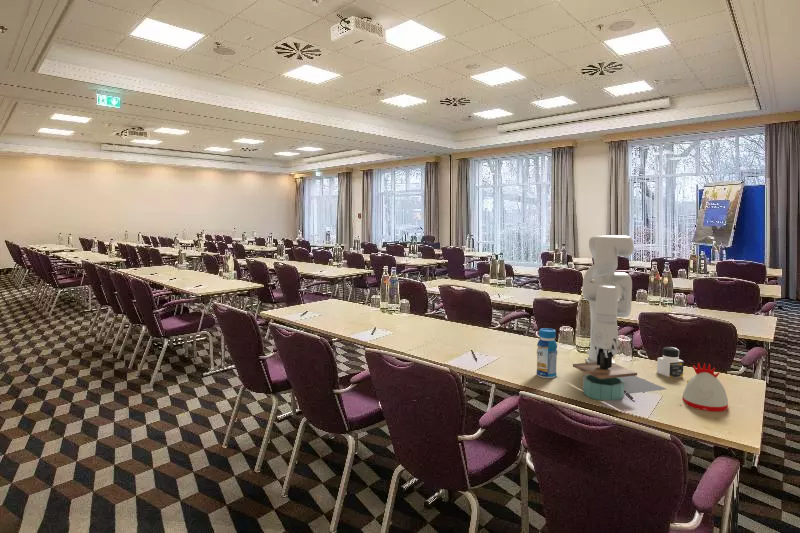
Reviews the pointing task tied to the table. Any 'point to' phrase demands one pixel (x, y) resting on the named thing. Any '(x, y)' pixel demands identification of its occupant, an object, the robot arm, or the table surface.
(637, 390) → the mat
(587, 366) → the lid
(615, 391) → the bowl
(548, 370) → the beverage bottle
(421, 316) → the table surface
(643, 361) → the table surface
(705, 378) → the kitchen timer
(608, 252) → the robot arm
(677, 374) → the medicine bottle
